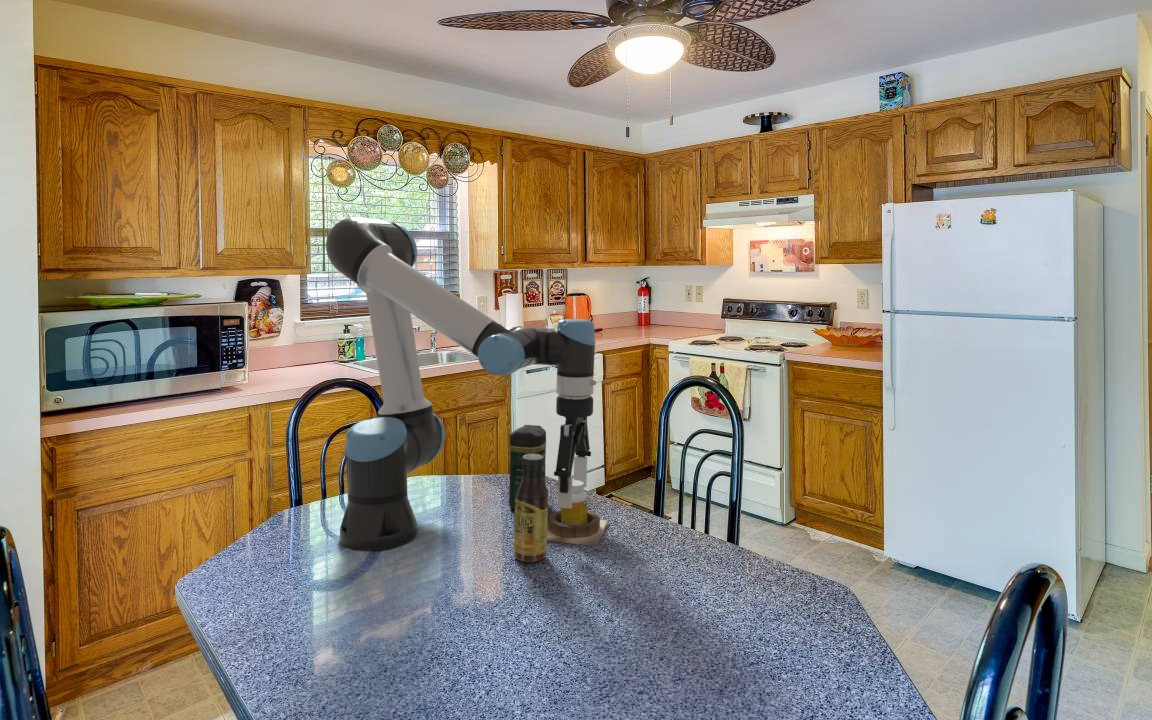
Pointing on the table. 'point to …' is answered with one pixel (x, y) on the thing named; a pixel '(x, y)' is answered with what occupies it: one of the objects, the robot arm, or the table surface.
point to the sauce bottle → (531, 512)
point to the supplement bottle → (576, 506)
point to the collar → (576, 530)
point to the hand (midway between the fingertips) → (572, 496)
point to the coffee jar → (520, 444)
